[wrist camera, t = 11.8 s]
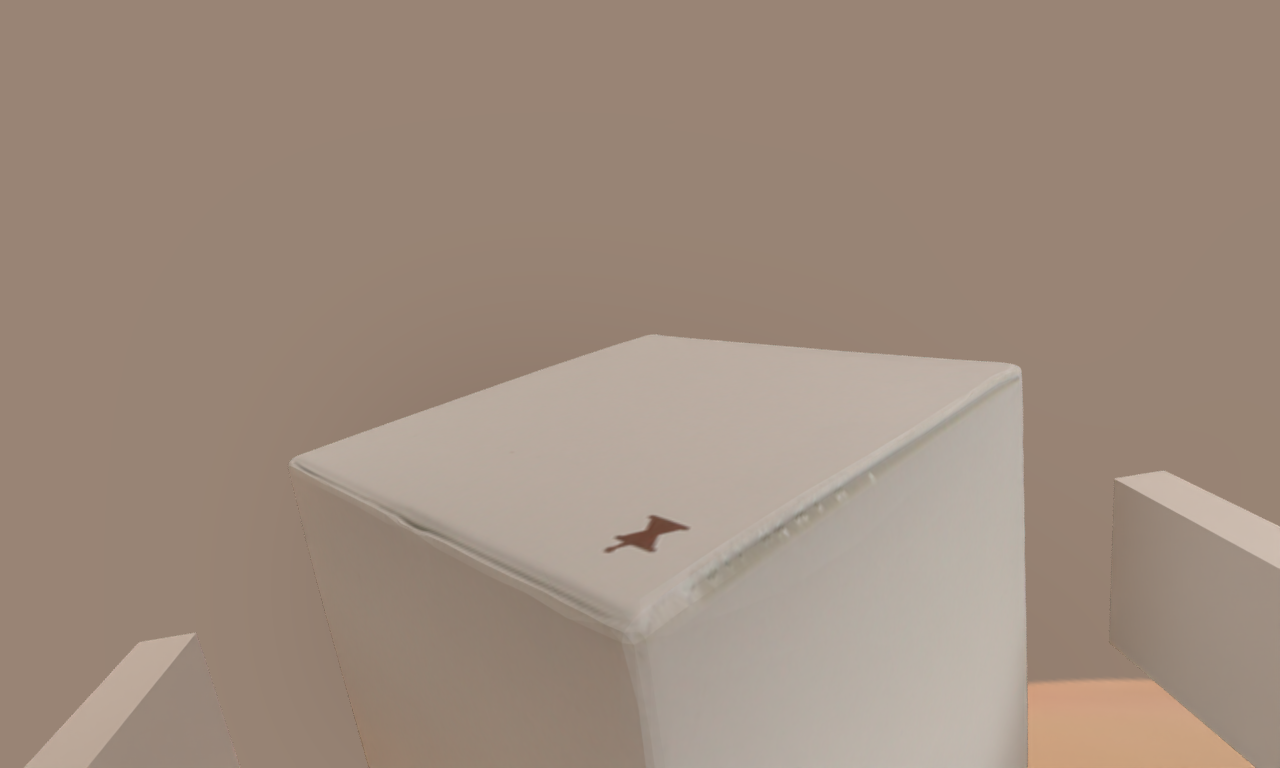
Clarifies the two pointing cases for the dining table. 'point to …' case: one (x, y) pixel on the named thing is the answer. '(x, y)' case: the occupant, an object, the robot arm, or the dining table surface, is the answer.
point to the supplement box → (685, 564)
